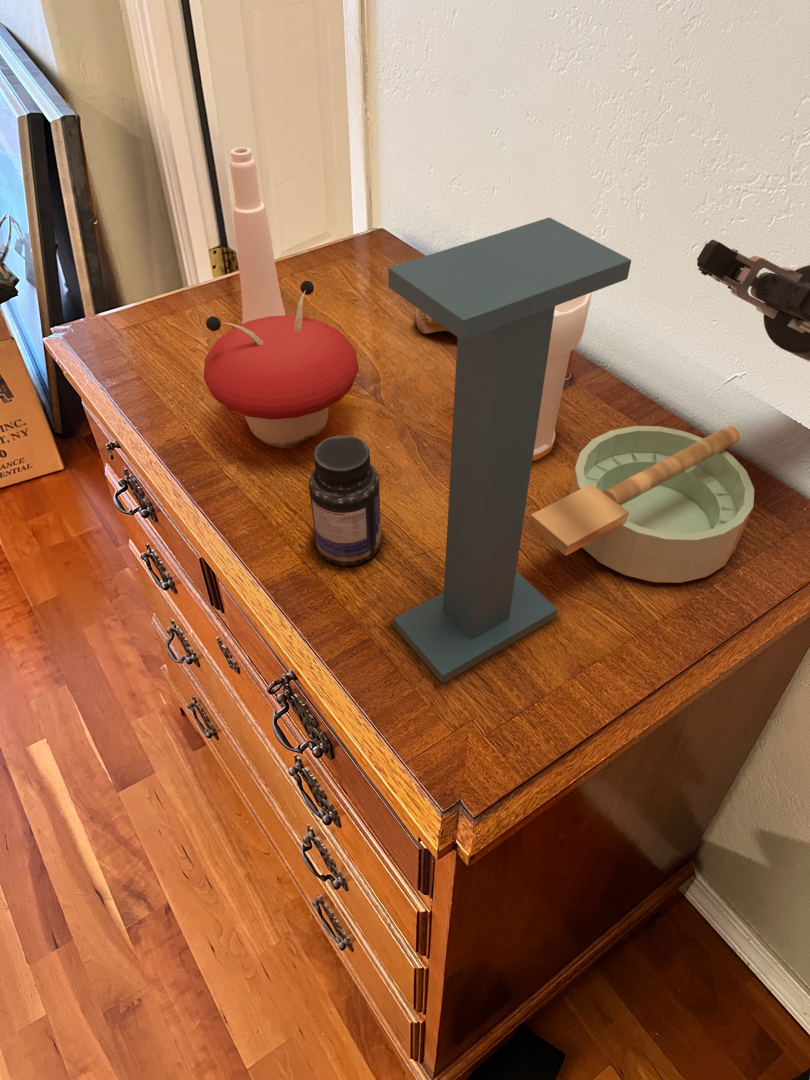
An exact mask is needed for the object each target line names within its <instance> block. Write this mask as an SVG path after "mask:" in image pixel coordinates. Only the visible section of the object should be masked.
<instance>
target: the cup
mask: <svg viewBox="0 0 810 1080" xmlns="http://www.w3.org/2000/svg"><path fill="white" fill-rule="evenodd" d="M592 295H593V292H591V293H589V294H586V295H583V296H581V297H578V298H575V299H573V300H570V301H567V302H565V303H562V304H559V305H557V306H555V311H554V317H553V324H552V331H551V338H550V344H549V351H548V358H547V365H546V372H545V378H544V385H543V392H542V399H541V406H540V412H539V419H538V426H537V433H536V440H535V446H534V453H533V460H532V462H534V461H538V460H540V459H542V458H543V457H545V456H546V455H548V454H549V453H551V451H552V449H553V447H554V445H555V441H556V425H557V420H558V416H559V411H560V405H561V401H562V395H563V391H564V387H565V386H564V381H565V376H566V372H567V367H568V362H569V357H570V352H571V351H572V350H573V349H574V350H575V349H576V348H577V347H578V346H579V345H580V342H581V340H582V338H583V335H584V331H585V326H586V322H587V317H588V313H589V308H590V304H591V299H592ZM574 350H573V351H574Z"/></svg>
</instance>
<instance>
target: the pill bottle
mask: <svg viewBox="0 0 810 1080" xmlns="http://www.w3.org/2000/svg"><path fill="white" fill-rule="evenodd" d="M313 462H314V463H313V464H314V468H313V470H312V471H311V473H310V476H309V478H308V492H309V498H310V507H311V515H312V524H313V532H314V541H315V547H316V550H317V552H318V554H319V555H320V556H321V558H323V559H324V560H326V561H328V562H329V563H331V564H334V565H338V566H345V567H351V566H352V567H353V566H356V565H361V564H363V563H365V562H367V561H368V560H369V559H372V558H373V556H375V554H377V553H378V550H379V549H380V547H381V544H382V543H381V542H382V523H381V521H382V520H381V519H382V518H381V493H380V491H381V490H380V477H379V476H380V475H379V473H378V472H377V470H376V468H375V467H374V466H373V465H372V464H371V454H370V447H369V446H368V444H367V443H366V442H365V441H363V440H362V439H361V438H359V437H355V436H352V435H335V436H330V437H328V438H326V439H324V440H322V441H320V442H319V443H318V444H317V446H316V447H315V449H314V451H313Z"/></svg>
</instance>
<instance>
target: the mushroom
mask: <svg viewBox="0 0 810 1080" xmlns="http://www.w3.org/2000/svg"><path fill="white" fill-rule="evenodd" d="M300 291H301V293H302V295H301V296H300V297H299V301H298V303H297V308H296V313H295V315H288V314H287V315H282V316H268V317H264V318H260V319H255V320H251V321H248V322H246V323H244V324H235V323H232V322H224V321H221V319H220V318H219V317H217V316H209V317H207V319H206V322H205V326H206V328H207V329H208V330H209V331H212V332H217V331H219V330H220V329H221V327H222V324H225V325H227V326H228V325H229V326H232V327H233V328H231V329H230V330H229V331H227V332H226V333H225V334H223V335H221V336H220V337H219V338H218V339H217V340H215V342H214V343H213V345H212V346H211V348H210V349H209V351H208V352H207V354H206V356H205V358H204V363H203V364H204V366H203V380H204V383H205V385H206V387H207V389H208V390H209V392H210V394H211V396H212V397H213V398H214V400H215V401H217V402H218V403H219V404H221V406H223V407H224V408H226V409H227V410H229V411H231V412H234V413H237V414H240V415H243V416H244V417H245V420H246V423H247V426H248V427H249V430H250V431H251V433H252V434H253V435H254V436H255V437H256V438H257V439H259V440H260V441H262V442H263V443H264V444H266V445H268V446H272V447H274V448H281V449H289V448H291V449H292V448H297V447H301V446H304V445H307V444H309V443H311V442H312V441H315V439H316V438H317V437H318V436H319V435H320V434H321V433H322V432H323V431H324V429H325V428H326V425H327V422H328V419H329V412H330V411H329V407H331V406H332V405H335V404H336V403H339V401H341V400H342V398H343V397H345V396H346V394H347V393H349V392H350V391H351V389H352V388H353V385H354V383H355V381H356V379H357V375H358V373H359V362H358V356H357V352H356V349H355V347H354V346H353V344H352V343H351V341H349V339H348V337H346V336H345V335H344V334H343V333H342V332H341V331H340V330H338V329H336V328H335V327H333V326H332V325H329V324H328V323H326V322H323V321H321V320H318V319H314V318H312V317H311V318H310V317H307V316H303V303H304V297H305V296H310V295H311V294H313V293H314V291H315V286H314V283H313V282H312V281H310V280H304V281H303V282H301V284H300Z"/></svg>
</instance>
